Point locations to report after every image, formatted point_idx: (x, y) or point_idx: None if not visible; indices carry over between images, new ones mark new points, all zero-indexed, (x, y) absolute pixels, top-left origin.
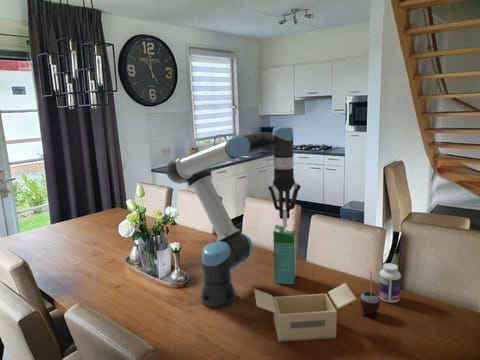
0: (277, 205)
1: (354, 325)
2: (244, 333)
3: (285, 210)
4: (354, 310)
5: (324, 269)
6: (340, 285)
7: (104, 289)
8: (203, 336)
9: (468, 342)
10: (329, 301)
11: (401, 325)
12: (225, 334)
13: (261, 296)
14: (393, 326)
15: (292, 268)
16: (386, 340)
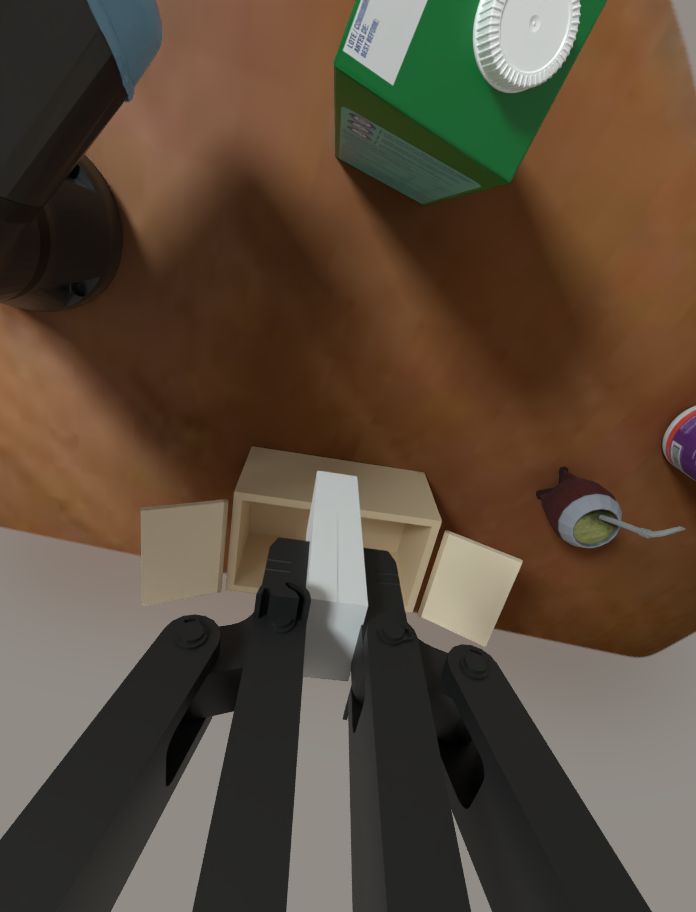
0: (181, 766)
1: (480, 524)
2: (146, 478)
3: (343, 648)
4: (533, 462)
5: (666, 77)
6: (500, 554)
7: None
8: (12, 459)
9: (677, 631)
10: (422, 564)
11: (598, 553)
12: (85, 468)
13: (169, 544)
14: (575, 552)
15: (433, 196)
16: (513, 589)
